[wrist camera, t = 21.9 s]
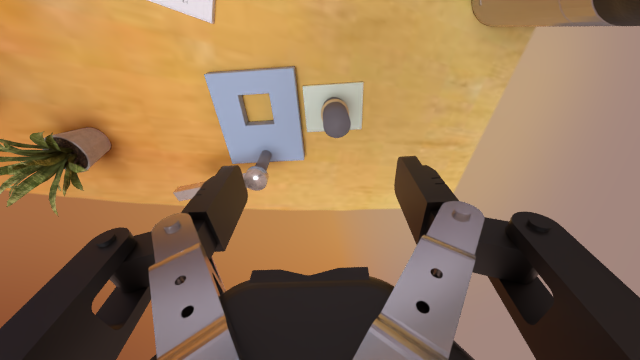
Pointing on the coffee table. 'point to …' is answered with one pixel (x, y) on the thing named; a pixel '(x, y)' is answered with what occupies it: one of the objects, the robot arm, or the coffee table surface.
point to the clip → (252, 178)
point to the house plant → (52, 161)
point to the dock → (260, 136)
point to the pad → (321, 93)
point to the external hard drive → (191, 8)
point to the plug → (335, 117)
